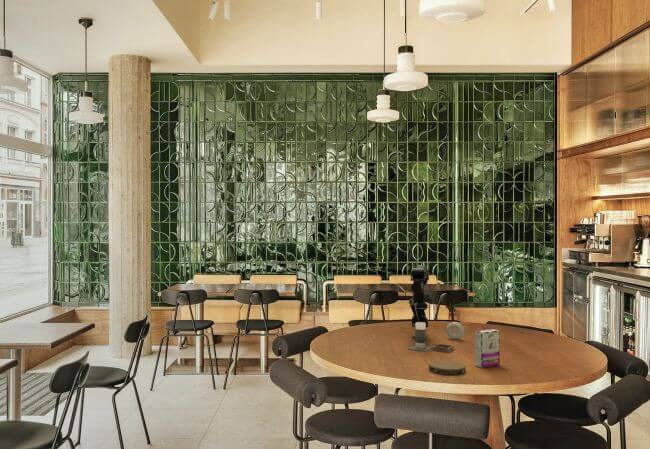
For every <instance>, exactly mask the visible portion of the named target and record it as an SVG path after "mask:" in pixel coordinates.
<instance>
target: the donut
mask: <svg viewBox="0 0 650 449" xmlns="http://www.w3.org/2000/svg"><path fill="white" fill-rule="evenodd" d="M453 329H456V330H457V333H455V332H453ZM445 330H446V331H445V332H446V335H447V336H448V337H449V338H450V339H451V340H459V339H461V338H462V337H463V336H464V334H465V333H464V332H465V331H464V330H465V329H464V327H463V325H462V324H461V323H460V322H457V321H452V322H449V324H447V326H446V329H445Z"/></svg>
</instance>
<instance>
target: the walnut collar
mask: <svg viewBox="0 0 650 449" xmlns="http://www.w3.org/2000/svg"><path fill="white" fill-rule="evenodd" d="M431 347H432V349H431V351H433V352H441V353H448V354H449V353H450V352H452V351H454V350H455V345H452V344H446V343H445V344H444V343H436V344H434V345H433V346H431Z"/></svg>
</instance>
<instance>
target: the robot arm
mask: <svg viewBox="0 0 650 449" xmlns="http://www.w3.org/2000/svg"><path fill="white" fill-rule="evenodd" d="M410 281H411V282H412V285H410V286H411V287H410V288H411V291H412V292H411V294H412V298H410V299H408V304H409V306H410V309H411V312H412V316H411V328H414V329H415V328H416V322H424V323H426V329H427V328H429V319H428V317H427V313H426V310H427V309H428V307H429V306H428V305H429V304H430V305H433V302H434V299H435V298H432V297H430V295H429V294H426V293H425V288H426V287H427V285H428V283H429V282H428V281H430V272H429V270H428V269H427V268H426V265H423V264H422V265H420V264H418V265H416V267H413V268H412V269H411V272H410ZM425 294H426V295H425ZM412 338H413V339H415V335H413V336H412ZM426 338H427V335H426Z"/></svg>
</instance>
